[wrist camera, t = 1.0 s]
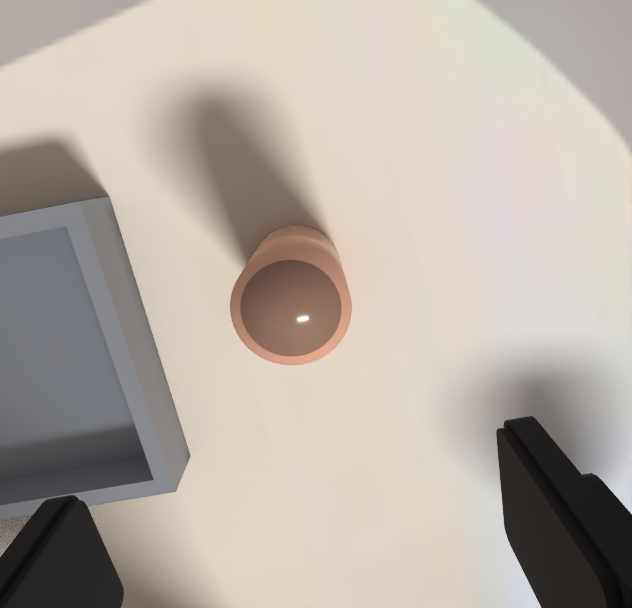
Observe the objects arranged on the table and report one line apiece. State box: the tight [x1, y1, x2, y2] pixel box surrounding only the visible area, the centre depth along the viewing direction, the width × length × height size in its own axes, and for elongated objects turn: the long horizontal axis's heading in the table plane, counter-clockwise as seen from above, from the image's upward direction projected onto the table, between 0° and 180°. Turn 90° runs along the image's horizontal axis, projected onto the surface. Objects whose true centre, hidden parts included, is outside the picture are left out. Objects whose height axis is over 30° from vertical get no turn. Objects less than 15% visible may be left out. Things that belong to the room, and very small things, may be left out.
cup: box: [230, 225, 352, 365], centre depth 27 cm, size 6×6×9 cm
